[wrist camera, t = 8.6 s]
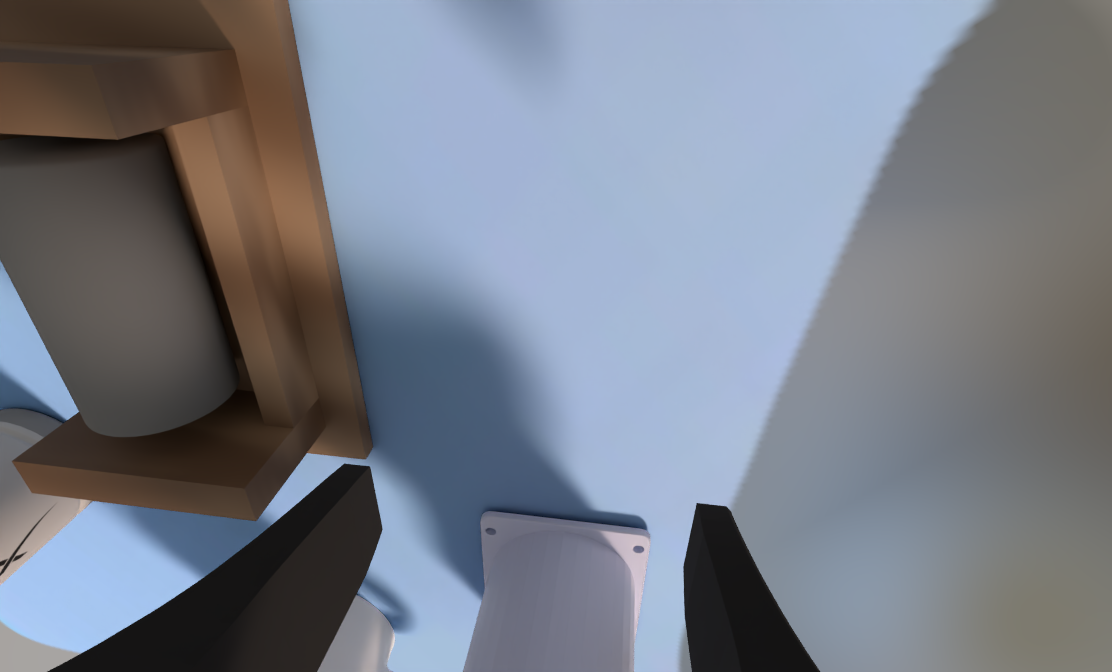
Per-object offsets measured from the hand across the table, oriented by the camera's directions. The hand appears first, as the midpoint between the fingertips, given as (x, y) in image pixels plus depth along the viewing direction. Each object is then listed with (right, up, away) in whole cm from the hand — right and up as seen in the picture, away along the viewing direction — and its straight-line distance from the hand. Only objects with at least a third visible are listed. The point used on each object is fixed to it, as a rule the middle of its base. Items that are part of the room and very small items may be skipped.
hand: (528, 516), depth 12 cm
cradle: (-14, +7, +9) cm, 18 cm away
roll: (-14, +7, +9) cm, 17 cm away
